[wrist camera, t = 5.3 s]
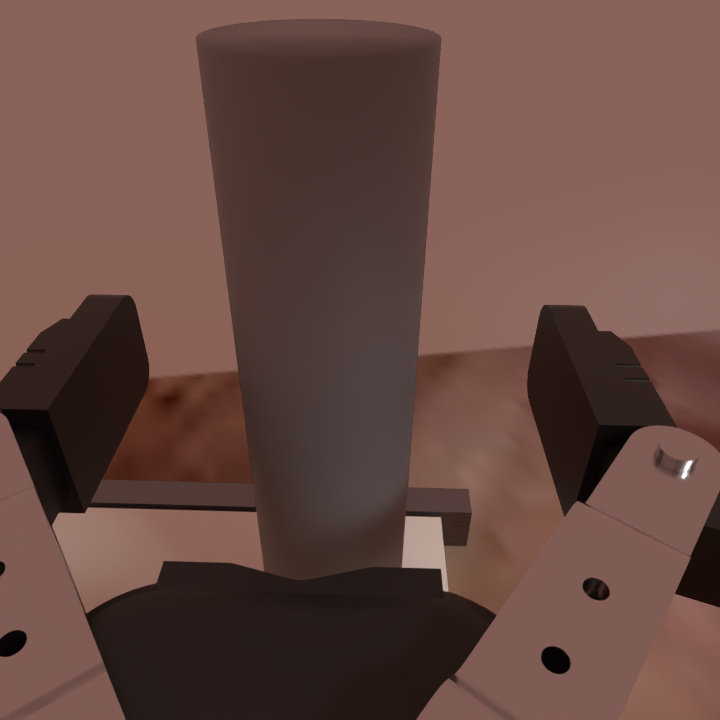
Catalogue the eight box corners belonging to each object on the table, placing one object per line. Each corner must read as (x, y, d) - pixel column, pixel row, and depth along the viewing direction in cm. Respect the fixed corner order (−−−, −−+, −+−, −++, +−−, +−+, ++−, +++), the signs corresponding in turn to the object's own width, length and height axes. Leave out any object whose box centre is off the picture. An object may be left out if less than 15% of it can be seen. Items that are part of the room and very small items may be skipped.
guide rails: (463, 521, 22) (468, 489, 21) (526, 997, 12) (541, 976, 11) (1, 508, 22) (-15, 476, 21) (-292, 964, 12) (-344, 941, 11)
